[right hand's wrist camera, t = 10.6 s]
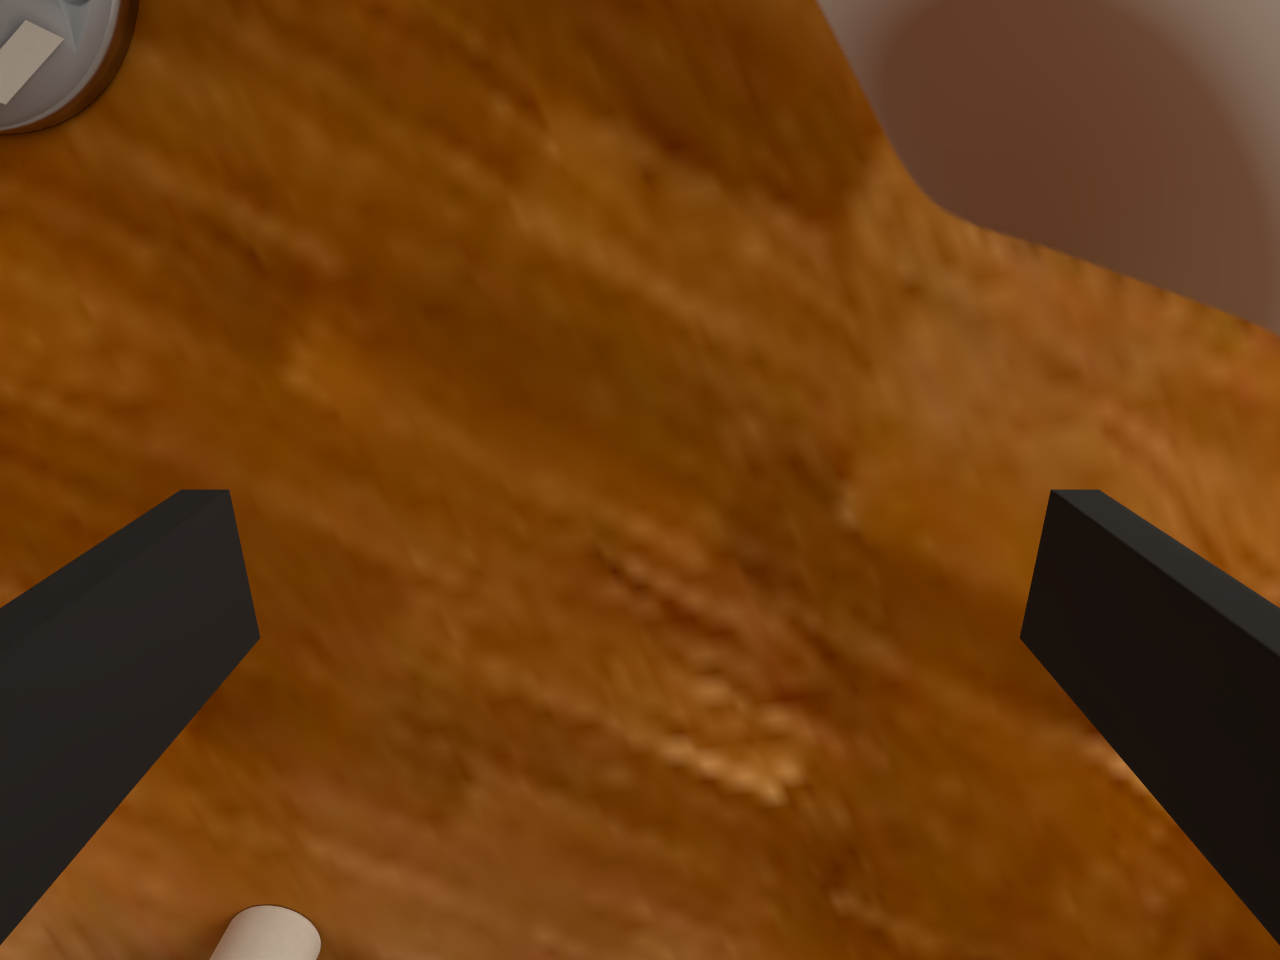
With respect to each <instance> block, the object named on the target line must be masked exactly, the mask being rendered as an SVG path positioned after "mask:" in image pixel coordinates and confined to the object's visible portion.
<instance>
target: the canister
mask: <svg viewBox="0 0 1280 960" xmlns="http://www.w3.org/2000/svg"><path fill="white" fill-rule="evenodd" d="M320 949H321V940H320V936H319V933H318V931H317V930H316V928H315V927H314V925H313V924H312V923H311V922H310V921H309V920H307V919H306V918H305V917H303V916H302V915H300V914H299V913H297V912H295V911H292V910H290V909H287V908H283V907H279V906H270V905H264V906H255V907H251V908H248V909H246V910H244V911H242V912H240V913H239V914H238V915H236V916H235V917H234V918H233V919H232V921H231V922H230V924H229V926H228V928H227V929H226V931H225V933H224V935H223V937H222V938H221V940H220V942H219V944H218V945H217V947H216V949H215V951H214V952H213V954H212V956H211V958H210V960H316V959H317V957H318V955H319V952H320Z"/></svg>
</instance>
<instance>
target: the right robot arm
mask: <svg viewBox="0 0 1280 960" xmlns="http://www.w3.org/2000/svg"><path fill="white" fill-rule="evenodd" d="M138 1H139V0H0V134H16V133H26V132H32V131H37V130H41V129H44V128H48V127H51V126H54V125H56V124H58V123H61V122H63V121H65V120H67V119H69V118H71V117H72V116H74V115H76V114H77V113H79V112H80V111H82V110H83V109H84V108H85V107H87V106H88V105H89V104H90V103H92V102H93V101H94V100H95V99H96V98H97V97H98V96H99V95H100V94H101V93H102V92H103V91H104V89H105V88H106V87H107V85H108V84H109V83H110V81H111V80H112V79H113V77H114V76H115V74H116V72H117V70H118V69H119V67H120V65H121V63H122V61H123V59H124V57H125V54H126V52H127V50H128V47H129V44H130V41H131V38H132V34H133V31H134V27H135V22H136V17H137V12H138ZM259 639H260V635H259V630H258V625H257V620H256V616H255V611H254V606H253V601H252V596H251V592H250V587H249V582H248V577H247V573H246V568H245V563H244V558H243V554H242V549H241V544H240V539H239V535H238V530H237V525H236V520H235V516H234V511H233V506H232V501H231V497H230V492H229V490H180V491H178V492H177V493H175V494H174V495H172V496H171V497H169V498H168V499H166V500H165V501H163V502H162V503H160V504H159V505H157V506H156V507H154V508H153V509H151V510H149V511H148V512H146V513H145V514H143V515H142V516H140V517H139V518H137V519H136V520H134V521H133V522H131V523H130V524H128V525H127V526H125V527H124V528H122V529H120V530H119V531H117V532H116V533H114V534H113V535H111V536H110V537H108V538H107V539H105V540H104V541H102V542H101V543H99V544H98V545H96V546H95V547H93V548H91V549H90V550H88V551H87V552H85V553H84V554H82V555H81V556H79V557H78V558H76V559H75V560H73V561H72V562H70V563H69V564H67V565H66V566H64V567H62V568H61V569H59V570H58V571H56V572H55V573H53V574H52V575H50V576H49V577H47V578H46V579H44V580H43V581H41V582H40V583H38V584H37V585H35V586H34V587H32V588H30V589H29V590H27V591H26V592H24V593H23V594H21V595H20V596H18V597H17V598H15V599H14V600H12V601H11V602H9V603H8V604H6V605H5V606H3V607H1V608H0V945H1V944H2V943H3V941H4V940H5V939H6V938H7V937H8V935H9V934H10V933H11V932H12V931H13V930H14V928H15V927H16V926H17V925H18V924H19V922H20V921H21V920H22V919H23V918H24V917H25V915H26V914H27V913H28V912H29V911H30V909H31V908H32V907H33V906H34V905H35V904H36V902H37V901H38V900H39V899H40V898H41V896H42V895H43V894H44V893H45V892H46V891H47V889H48V888H49V887H50V886H51V885H52V883H53V882H54V881H55V880H56V879H57V878H58V876H59V875H60V874H61V873H62V872H63V870H64V869H65V868H66V867H67V866H68V865H69V863H70V862H71V861H72V860H73V859H74V857H75V856H76V855H77V854H78V853H79V852H80V850H81V849H82V848H83V847H84V846H85V844H86V843H87V842H88V841H89V840H90V839H91V837H92V836H93V835H94V834H95V833H96V831H97V830H98V829H99V828H100V827H101V826H102V824H103V823H104V822H105V821H106V820H107V818H108V817H109V816H110V815H111V814H112V813H113V811H114V810H115V809H116V808H117V807H118V805H119V804H120V803H121V802H122V801H123V800H124V798H125V797H126V796H127V795H128V794H129V792H130V791H131V790H132V789H133V788H134V787H135V785H136V784H137V783H138V782H139V781H140V779H141V778H142V777H143V776H144V775H145V774H146V772H147V771H148V770H149V769H150V768H151V766H152V765H153V764H154V763H155V762H156V761H157V759H158V758H159V757H160V756H161V755H162V753H163V752H164V751H165V750H166V749H167V748H168V746H169V745H170V744H171V743H172V742H173V740H174V739H175V738H176V737H177V736H178V735H179V733H180V732H181V731H182V730H183V729H184V727H185V726H186V725H187V724H188V723H189V722H190V720H191V719H192V718H193V717H194V716H195V714H196V713H197V712H198V711H199V710H200V709H201V707H202V706H203V705H204V704H205V703H206V701H207V700H208V699H209V698H210V697H211V695H212V694H213V693H214V692H215V691H216V690H217V688H218V687H219V686H220V685H221V684H222V682H223V681H224V680H225V679H226V678H227V677H228V675H229V674H230V673H231V672H232V671H233V669H234V668H235V667H236V666H237V665H238V664H239V662H240V661H241V660H242V659H243V658H244V656H245V655H246V654H247V653H248V652H249V651H250V649H251V648H252V647H253V646H254V645H255V643H256V642H257V641H258V640H259ZM1020 639H1021V640H1022V641H1023V642H1024V643H1025V645H1026V646H1027V647H1028V648H1029V649H1030V651H1031V652H1032V653H1033V654H1034V655H1035V656H1036V658H1037V659H1038V660H1039V661H1040V662H1041V664H1042V665H1043V666H1044V667H1045V668H1046V669H1047V671H1048V672H1049V673H1050V674H1051V675H1052V677H1053V678H1054V679H1055V680H1056V681H1057V682H1058V684H1059V685H1060V686H1061V687H1062V688H1063V690H1064V691H1065V692H1066V693H1067V694H1068V695H1069V697H1070V698H1071V699H1072V700H1073V701H1074V703H1075V704H1076V705H1077V706H1078V707H1079V709H1080V710H1081V711H1082V712H1083V713H1084V714H1085V716H1086V717H1087V718H1088V719H1089V720H1090V722H1091V723H1092V724H1093V725H1094V726H1095V727H1096V729H1097V730H1098V731H1099V732H1100V733H1101V735H1102V736H1103V737H1104V738H1105V739H1106V740H1107V742H1108V743H1109V744H1110V745H1111V746H1112V748H1113V749H1114V750H1115V751H1116V752H1117V753H1118V755H1119V756H1120V757H1121V758H1122V759H1123V761H1124V762H1125V763H1126V764H1127V765H1128V766H1129V768H1130V769H1131V770H1132V771H1133V772H1134V774H1135V775H1136V776H1137V777H1138V778H1139V779H1140V781H1141V782H1142V783H1143V784H1144V785H1145V787H1146V788H1147V789H1148V790H1149V791H1150V792H1151V794H1152V795H1153V796H1154V797H1155V798H1156V800H1157V801H1158V802H1159V803H1160V804H1161V805H1162V807H1163V808H1164V809H1165V810H1166V811H1167V813H1168V814H1169V815H1170V816H1171V817H1172V818H1173V820H1174V821H1175V822H1176V823H1177V824H1178V826H1179V827H1180V828H1181V829H1182V830H1183V831H1184V833H1185V834H1186V835H1187V836H1188V837H1189V839H1190V840H1191V841H1192V842H1193V843H1194V844H1195V846H1196V847H1197V848H1198V849H1199V850H1200V852H1201V853H1202V854H1203V855H1204V856H1205V857H1206V859H1207V860H1208V861H1209V862H1210V863H1211V865H1212V866H1213V867H1214V868H1215V869H1216V870H1217V872H1218V873H1219V874H1220V875H1221V876H1222V878H1223V879H1224V880H1225V881H1226V882H1227V883H1228V885H1229V886H1230V887H1231V888H1232V889H1233V891H1234V892H1235V893H1236V894H1237V895H1238V896H1239V898H1240V899H1241V900H1242V901H1243V902H1244V904H1245V905H1246V906H1247V907H1248V908H1249V909H1250V911H1251V912H1252V913H1253V914H1254V915H1255V917H1256V918H1257V919H1258V920H1259V921H1260V922H1261V924H1262V925H1263V926H1264V927H1265V928H1266V930H1267V931H1268V932H1269V933H1270V934H1271V935H1272V937H1273V938H1274V939H1275V940H1276V941H1277V943H1278V944H1279V945H1280V608H1279V607H1277V606H1275V605H1274V604H1272V603H1271V602H1269V601H1268V600H1266V599H1265V598H1263V597H1262V596H1260V595H1259V594H1257V593H1256V592H1254V591H1253V590H1251V589H1250V588H1248V587H1246V586H1245V585H1243V584H1242V583H1240V582H1239V581H1237V580H1236V579H1234V578H1233V577H1231V576H1230V575H1228V574H1227V573H1225V572H1224V571H1222V570H1221V569H1219V568H1218V567H1216V566H1214V565H1213V564H1211V563H1210V562H1208V561H1207V560H1205V559H1204V558H1202V557H1201V556H1199V555H1198V554H1196V553H1195V552H1193V551H1192V550H1190V549H1189V548H1187V547H1185V546H1184V545H1182V544H1181V543H1179V542H1178V541H1176V540H1175V539H1173V538H1172V537H1170V536H1169V535H1167V534H1166V533H1164V532H1163V531H1161V530H1160V529H1158V528H1156V527H1155V526H1153V525H1152V524H1150V523H1149V522H1147V521H1146V520H1144V519H1143V518H1141V517H1140V516H1138V515H1137V514H1135V513H1134V512H1132V511H1131V510H1129V509H1127V508H1126V507H1124V506H1123V505H1121V504H1120V503H1118V502H1117V501H1115V500H1114V499H1112V498H1111V497H1109V496H1108V495H1106V494H1105V493H1103V492H1102V491H1100V490H1051V492H1050V497H1049V501H1048V506H1047V511H1046V516H1045V520H1044V525H1043V530H1042V535H1041V539H1040V544H1039V549H1038V554H1037V558H1036V563H1035V568H1034V573H1033V577H1032V582H1031V587H1030V592H1029V596H1028V601H1027V606H1026V611H1025V616H1024V620H1023V625H1022V630H1021V635H1020Z"/></svg>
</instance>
